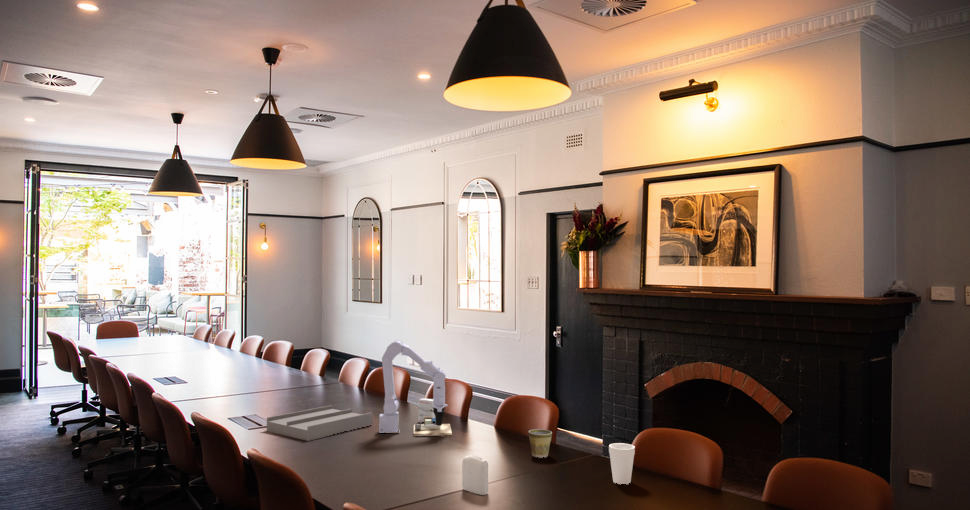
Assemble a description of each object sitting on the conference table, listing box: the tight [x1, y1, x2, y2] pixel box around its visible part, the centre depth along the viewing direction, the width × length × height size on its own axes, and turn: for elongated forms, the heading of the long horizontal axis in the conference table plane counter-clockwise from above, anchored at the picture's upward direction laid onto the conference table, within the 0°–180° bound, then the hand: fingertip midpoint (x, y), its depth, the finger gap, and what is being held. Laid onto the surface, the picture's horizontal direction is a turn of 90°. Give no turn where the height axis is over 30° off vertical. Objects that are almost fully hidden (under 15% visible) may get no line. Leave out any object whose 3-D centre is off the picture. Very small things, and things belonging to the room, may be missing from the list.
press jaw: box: [425, 419, 431, 425], centre depth 316 cm, size 3×3×4 cm
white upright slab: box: [461, 454, 489, 496], centre depth 225 cm, size 10×4×12 cm, turn 47°
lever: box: [415, 417, 441, 431], centre depth 312 cm, size 13×3×6 cm, turn 109°
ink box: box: [417, 397, 435, 422], centre depth 336 cm, size 8×5×12 cm, turn 59°
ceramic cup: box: [528, 428, 553, 459], centre depth 274 cm, size 13×10×10 cm
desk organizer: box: [266, 404, 373, 442], centre depth 320 cm, size 32×40×7 cm
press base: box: [413, 417, 453, 436], centre depth 314 cm, size 18×20×6 cm
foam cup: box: [608, 442, 636, 485], centre depth 238 cm, size 10×9×13 cm
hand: (438, 423), depth 312 cm, fingers open, 6 cm apart
